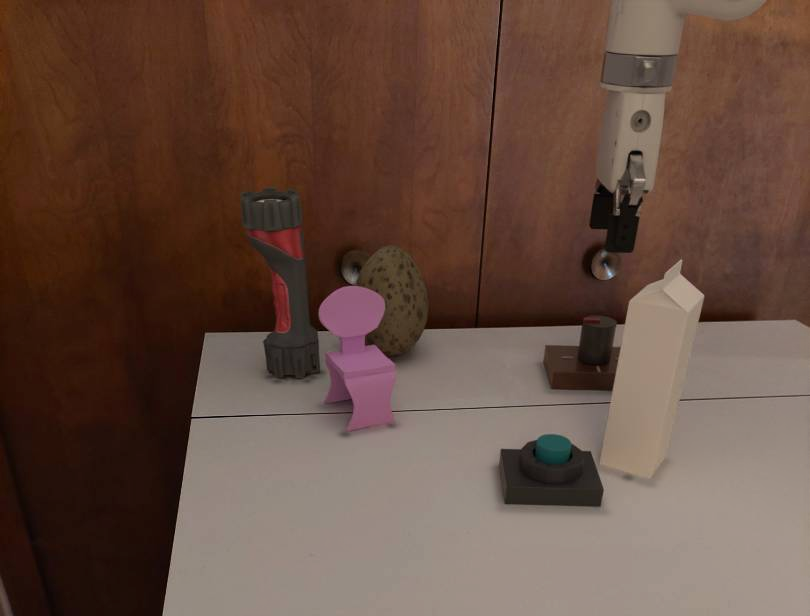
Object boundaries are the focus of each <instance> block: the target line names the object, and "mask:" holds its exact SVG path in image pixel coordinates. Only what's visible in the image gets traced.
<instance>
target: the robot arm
mask: <svg viewBox="0 0 810 616" xmlns="http://www.w3.org/2000/svg"><path fill="white" fill-rule="evenodd" d="M767 1H768V0H611V4H610V9H609V17H608V25H607V31H606V39H605V44H604V45H605V46H604V53H603V60H602V67H601V74H600V81H599V88H600V89H603V90H606V91H607V94H606V98H605V103H604V109H603V113H602V114H603V115H602V119H601V126H600V132H599V137H598V138H599V139H598V144H597V152H596V159H595V176H596V178H597V179H596V182H595V186H594V193H593V196H592V203H591V211H590V216H589V222H588V227H589V228H590V229H591V230H606V236H605V242H604V251H605V252H606V253H612V254H615V253H617V254H632V253H633V252H634V251H635V245H636V239H637V235H638V228H639V224H640V218H641V214H642V203H643V202H644V199H643V198H644V197H643V194H645V195H649V194H650V193H651V192H652V191H653V189H654V187H655V181H656V176H657V168H658V163H659V156H660V148H661V141H662V134H663V126H664V117H665V105H666V93H670V92H672V89H673V83H674V79H675V73H676V69H677V62H678V57H679V51H680V46H681V41H682V35H683V30H684V25H685V20H686V15H687V14H689V15H690V14H691V15H695V16H702V17H706V18H711V19H715V20H721V21H735V20H739V19H743V18H746V17H747V16H749V15H751V14H753V13H755V12H756V11H757V10H759V9H760V8H761V7H763V5H764V4H765V3H766V2H767ZM622 196H623V197H622Z"/></svg>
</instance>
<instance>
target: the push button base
mask: <svg viewBox="0 0 810 616" xmlns="http://www.w3.org/2000/svg"><path fill="white" fill-rule="evenodd" d="M536 443H537V439H534V440H530V441H527V442H526V443H525V444H524V445H523V446H521V448H500V452H499V462H498V468H499V475H500V481H501V482H500V483H501V487H502V495H503V501H504V505H514V506H515V505H517V506H518V505H520V506H552V507H553V506H554V507H555V506H556V507H592V508H593V507H594V508H601V506H602V501H603V496H604V490H605V489H604V486H603V483H602V479H601V477H600V474H599V472H598V471H599V470H598V468H597V465H596V462H595V460H594V457H593V456H594V455H593V453H592V451H591V450H582V449H580V448H579V447H578V446H576V445H575V444H574V443H571V451H570V457H569V460H568V461H567V462H564V463H561V464H551V463H546V462H543V461H540V460H538V459H537V458H536V457H535V451H536Z"/></svg>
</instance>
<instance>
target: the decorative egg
mask: <svg viewBox="0 0 810 616" xmlns="http://www.w3.org/2000/svg"><path fill="white" fill-rule="evenodd" d="M354 286H359V287H364V288H367V289H370V290H372V291H374V292H376V293H378V294H379V295H380V296H382V298H383V299H384V301H385V311H384V314H383V317H382V319H381V321H380V323H379V325H378V327H377V328H376V329H374V330H373V331H371V332H369V333H368V334H366V335H365V346H370V345H375V346H376V347H377V348H378V349H379V350H380V351H381V352H382V353H383V354H384V355H385V356H386V357H396V356H398V355H400V354H401V355H402V354H404V353H406V352H407V351H410V350H411V349H412V348H413V347H414V346H415V345H416V344H417V342H418V341H419V340H420V339H421V337H422V335H423V333H424V332H425V329H426V325H427V323H428V322H427V321H428V316H429V300H428V293H427V288H426V284H425V281H424V277H423V276H422V274H421V272H420V270H419V268H418V266H417V264H416V262H415V261H414V259H413V258H412V257H411V256H410V254H409V253H407V252H406V251H405V250H404V249H403V248H401V247H399V246H396V245H386V246H383V247H381V248H379V249H378V250H377V251H375V252H374V253H373V254H372V255H371V256H370V257H369V258H368V259H367V261H366V262H365V263H364V264H363V266H362V268H361V269H360V272H359V274H358V276H357V278H356V280H355V283H354Z"/></svg>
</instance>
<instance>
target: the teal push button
mask: <svg viewBox="0 0 810 616" xmlns="http://www.w3.org/2000/svg"><path fill="white" fill-rule="evenodd" d="M536 440H537V443H536V451H535V457H536V458H537V459H538V460H540V461H543V462H546V463H551V464H561V463H564V462H567V461H568V460H569V457H570V451H571V444H572V441H571V440H570V439H569V438H568V437H566V436H564V435H561V434H556V433H547V434H542V435H540V436H539V437H537V439H536Z"/></svg>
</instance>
